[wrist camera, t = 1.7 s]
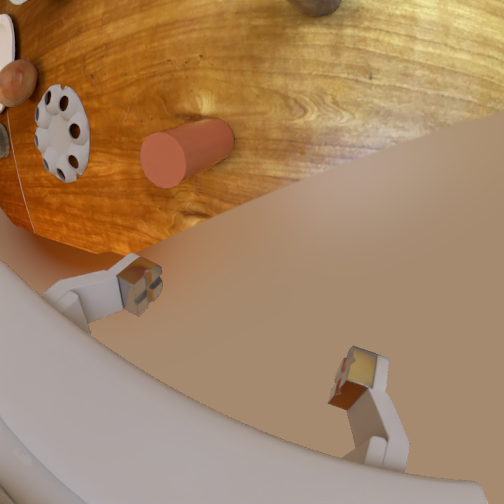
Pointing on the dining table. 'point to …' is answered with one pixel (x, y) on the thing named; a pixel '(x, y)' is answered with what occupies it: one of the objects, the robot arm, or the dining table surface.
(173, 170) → the terracotta canister
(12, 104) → the onion
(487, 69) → the dining table surface
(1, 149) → the cake
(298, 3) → the slate-blue canister
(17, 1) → the bowl
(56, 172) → the grey disc with holes
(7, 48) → the plate
